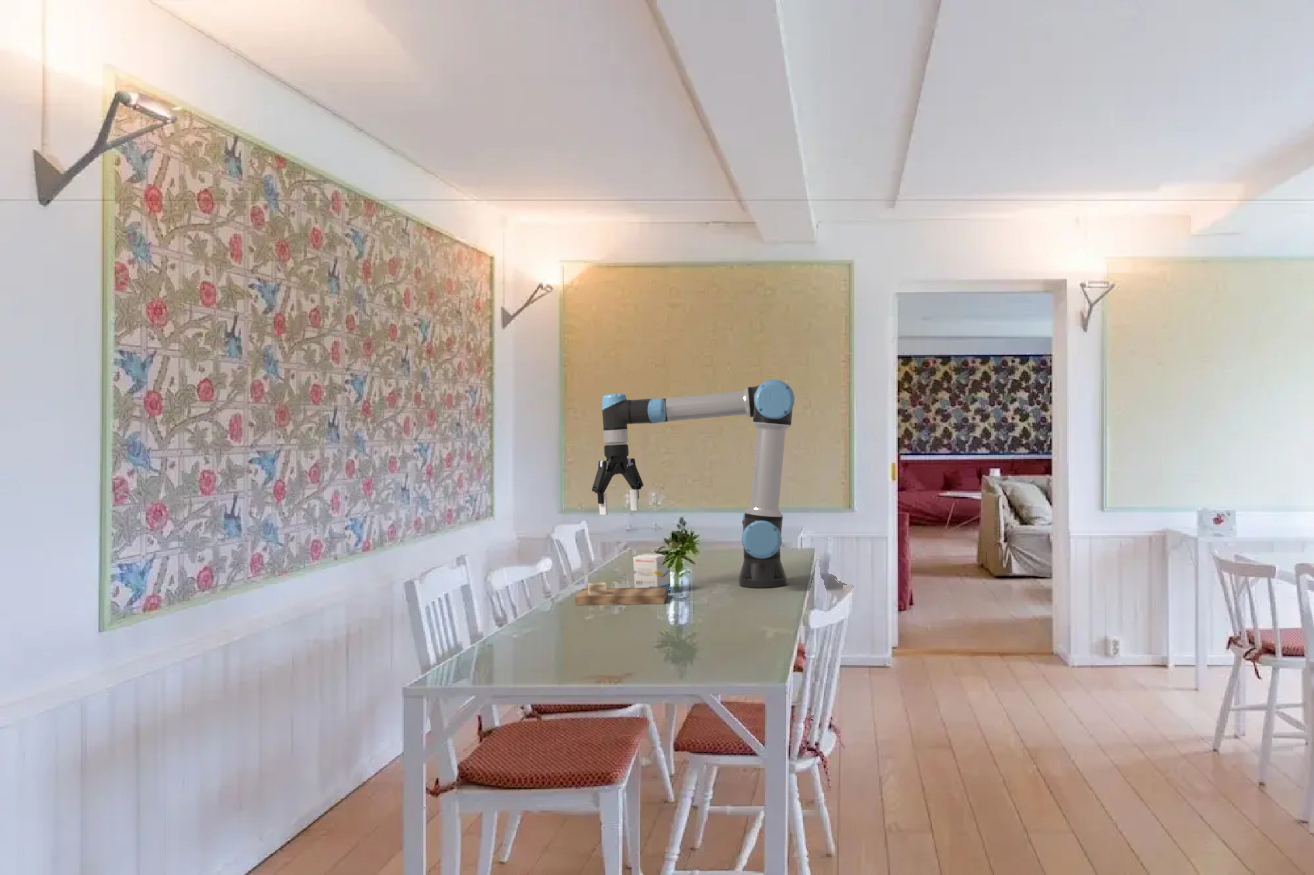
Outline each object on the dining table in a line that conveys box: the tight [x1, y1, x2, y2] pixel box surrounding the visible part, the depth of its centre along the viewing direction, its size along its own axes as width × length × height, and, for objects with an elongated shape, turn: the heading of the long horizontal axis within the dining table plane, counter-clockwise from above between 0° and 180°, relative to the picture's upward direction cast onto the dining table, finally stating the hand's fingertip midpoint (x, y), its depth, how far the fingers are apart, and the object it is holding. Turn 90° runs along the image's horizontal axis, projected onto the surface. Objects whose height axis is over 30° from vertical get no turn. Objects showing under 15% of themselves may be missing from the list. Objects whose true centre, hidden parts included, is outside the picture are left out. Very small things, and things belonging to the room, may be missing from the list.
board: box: [574, 587, 669, 606], centre depth 303 cm, size 26×14×3 cm, turn 85°
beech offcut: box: [587, 582, 607, 596], centre depth 300 cm, size 5×4×3 cm
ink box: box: [632, 552, 671, 593], centre depth 315 cm, size 9×8×12 cm
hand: (619, 512), depth 314 cm, fingers open, 13 cm apart
